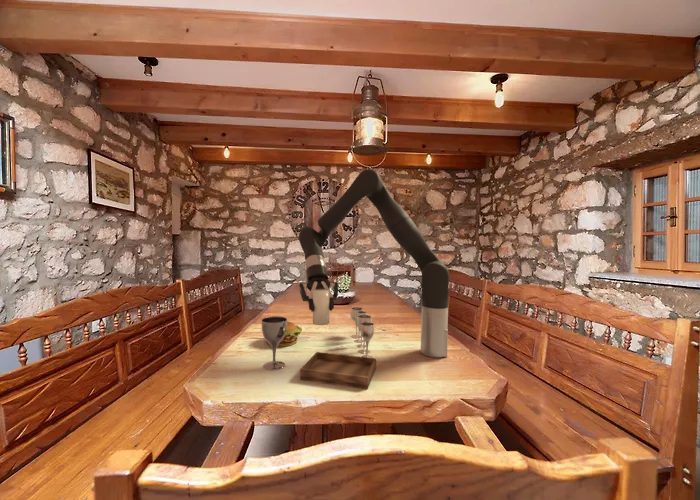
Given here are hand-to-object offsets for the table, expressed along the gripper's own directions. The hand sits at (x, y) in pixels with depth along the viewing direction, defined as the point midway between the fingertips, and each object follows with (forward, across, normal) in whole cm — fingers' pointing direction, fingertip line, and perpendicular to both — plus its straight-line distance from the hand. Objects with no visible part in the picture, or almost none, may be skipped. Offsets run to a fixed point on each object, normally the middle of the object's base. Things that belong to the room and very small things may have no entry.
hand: (322, 309), depth 102 cm
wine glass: (+12, -16, +13) cm, 23 cm away
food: (-4, -11, +29) cm, 31 cm away
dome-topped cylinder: (+2, 0, +5) cm, 5 cm away
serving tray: (+19, +4, +6) cm, 21 cm away
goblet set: (+4, +17, +21) cm, 28 cm away
